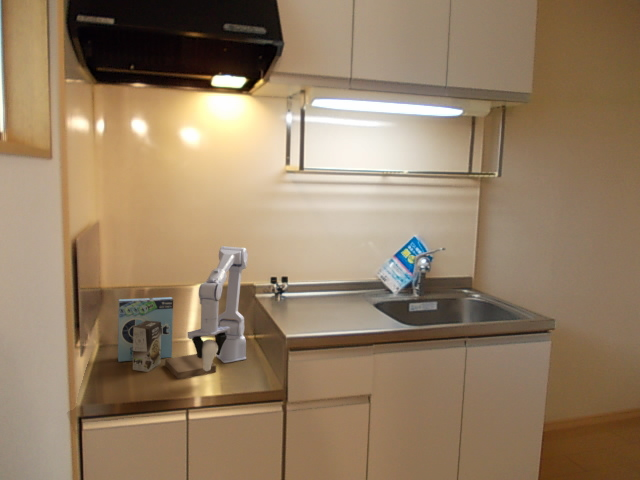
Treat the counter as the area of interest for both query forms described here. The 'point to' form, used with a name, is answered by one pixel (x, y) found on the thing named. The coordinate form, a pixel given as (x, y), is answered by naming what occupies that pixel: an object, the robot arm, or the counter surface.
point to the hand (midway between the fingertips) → (208, 355)
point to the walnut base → (187, 366)
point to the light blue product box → (137, 313)
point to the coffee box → (146, 346)
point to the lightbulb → (208, 353)
